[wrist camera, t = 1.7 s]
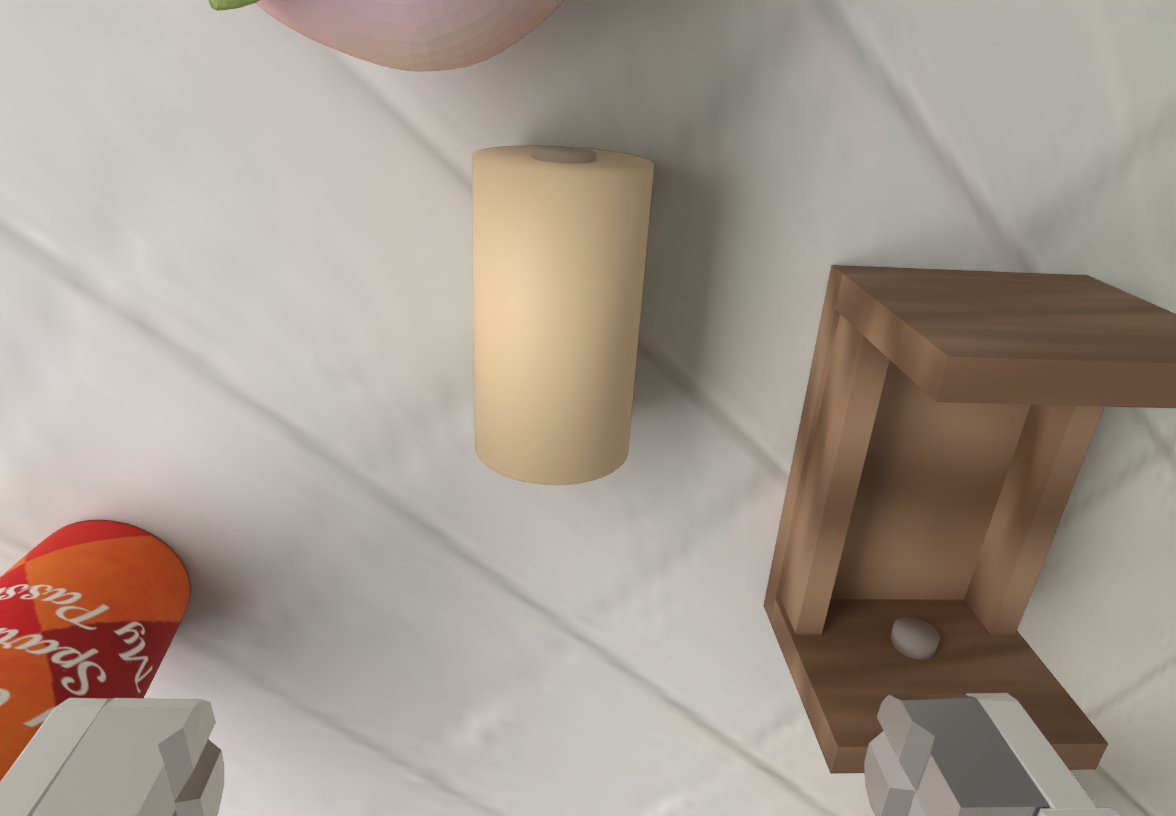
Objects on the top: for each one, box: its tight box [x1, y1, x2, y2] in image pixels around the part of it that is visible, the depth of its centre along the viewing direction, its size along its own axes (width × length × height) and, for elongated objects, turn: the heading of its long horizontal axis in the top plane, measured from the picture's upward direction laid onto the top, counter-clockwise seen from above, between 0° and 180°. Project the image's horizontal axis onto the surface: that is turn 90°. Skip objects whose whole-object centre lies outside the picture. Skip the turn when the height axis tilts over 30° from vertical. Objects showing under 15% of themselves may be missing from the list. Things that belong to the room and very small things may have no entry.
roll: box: [472, 146, 654, 485], centre depth 23 cm, size 9×5×5 cm, turn 177°
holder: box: [764, 265, 1176, 773], centre depth 25 cm, size 14×9×8 cm, turn 177°
